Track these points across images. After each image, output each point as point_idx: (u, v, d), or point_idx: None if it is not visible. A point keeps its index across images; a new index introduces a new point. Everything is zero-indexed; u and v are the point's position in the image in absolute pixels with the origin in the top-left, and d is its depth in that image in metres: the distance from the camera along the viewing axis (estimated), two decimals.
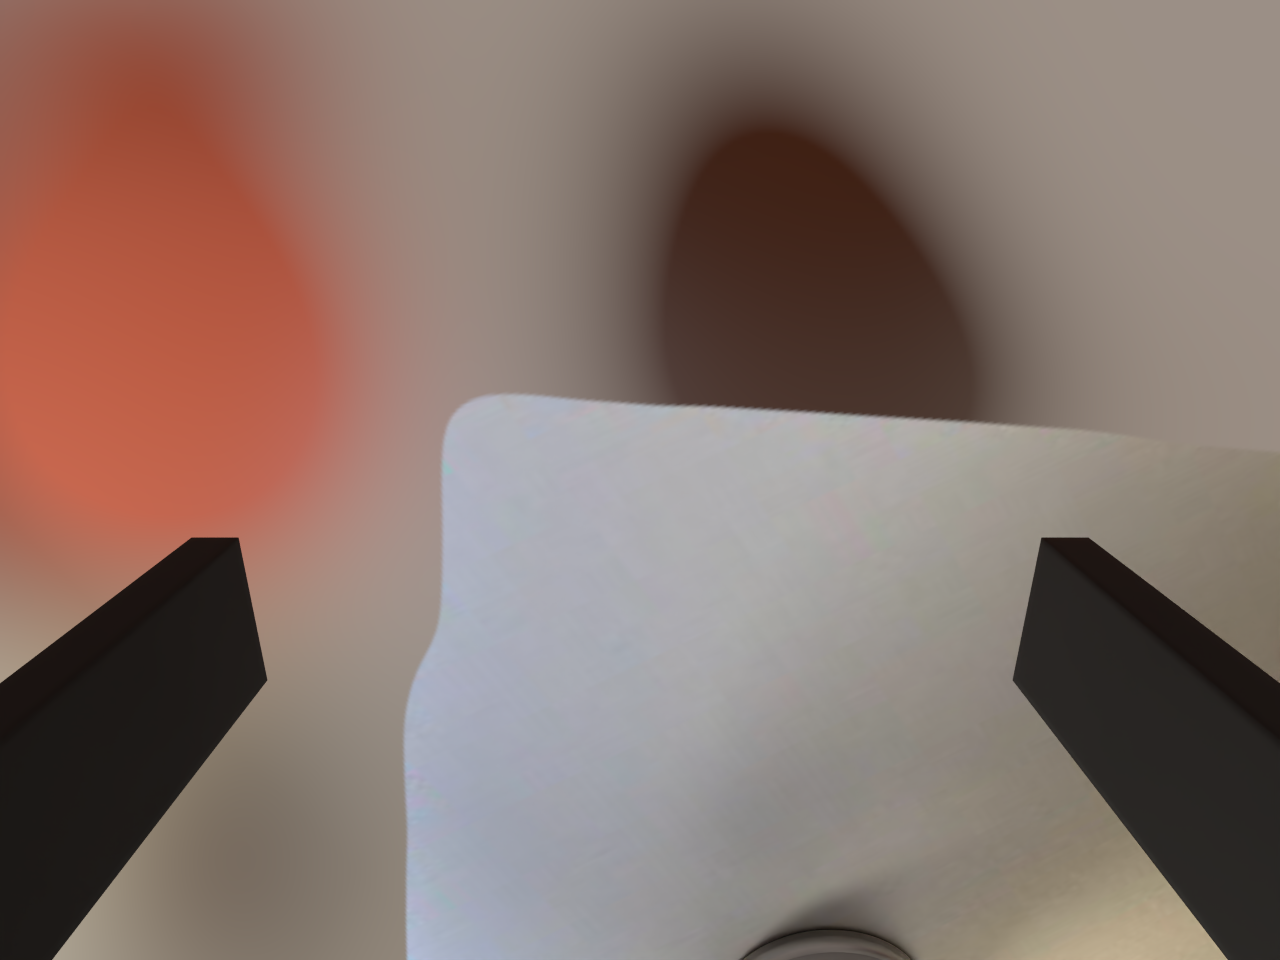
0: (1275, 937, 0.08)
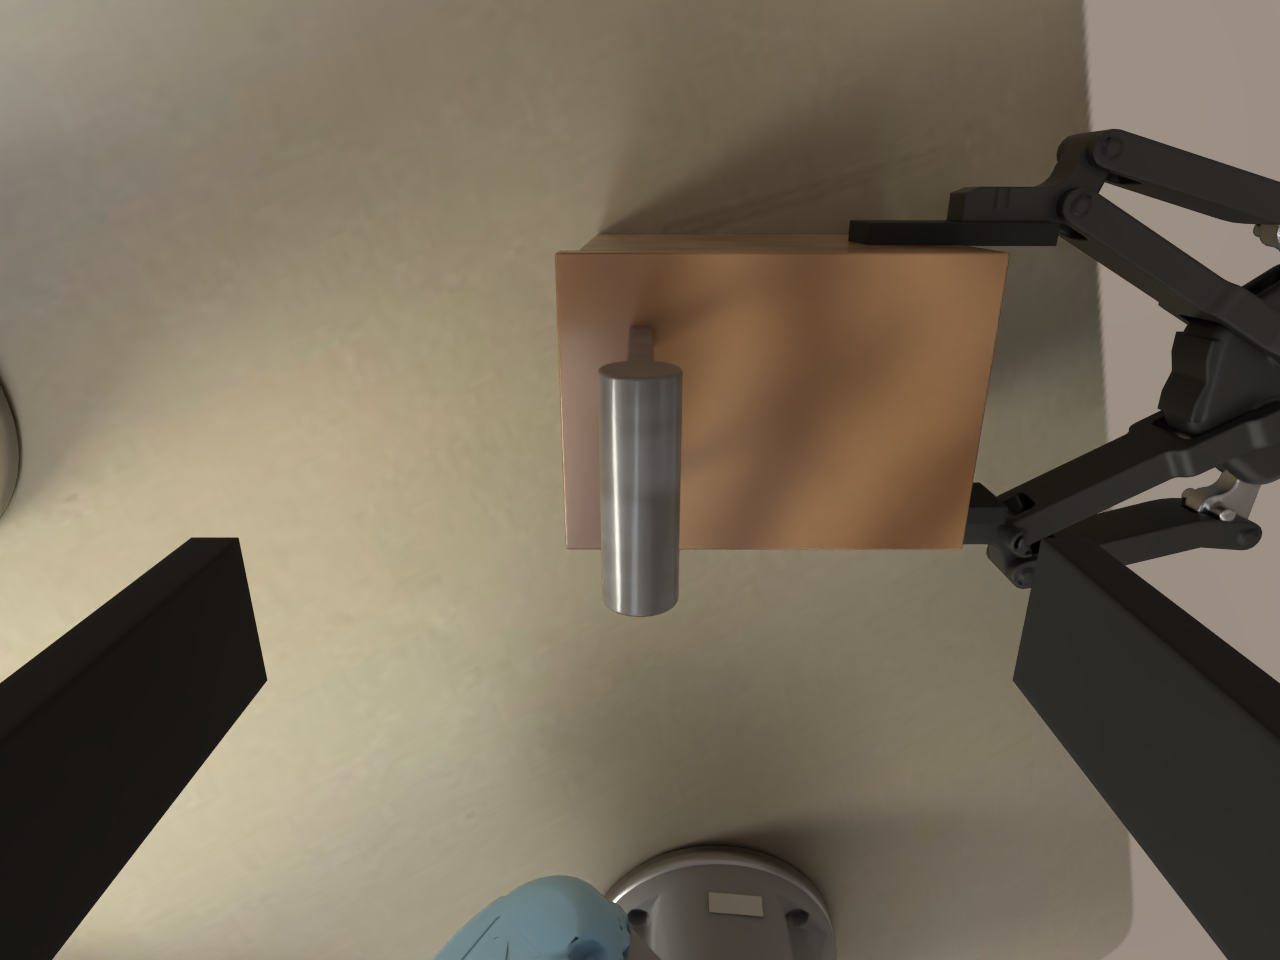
0: (1275, 937, 0.08)
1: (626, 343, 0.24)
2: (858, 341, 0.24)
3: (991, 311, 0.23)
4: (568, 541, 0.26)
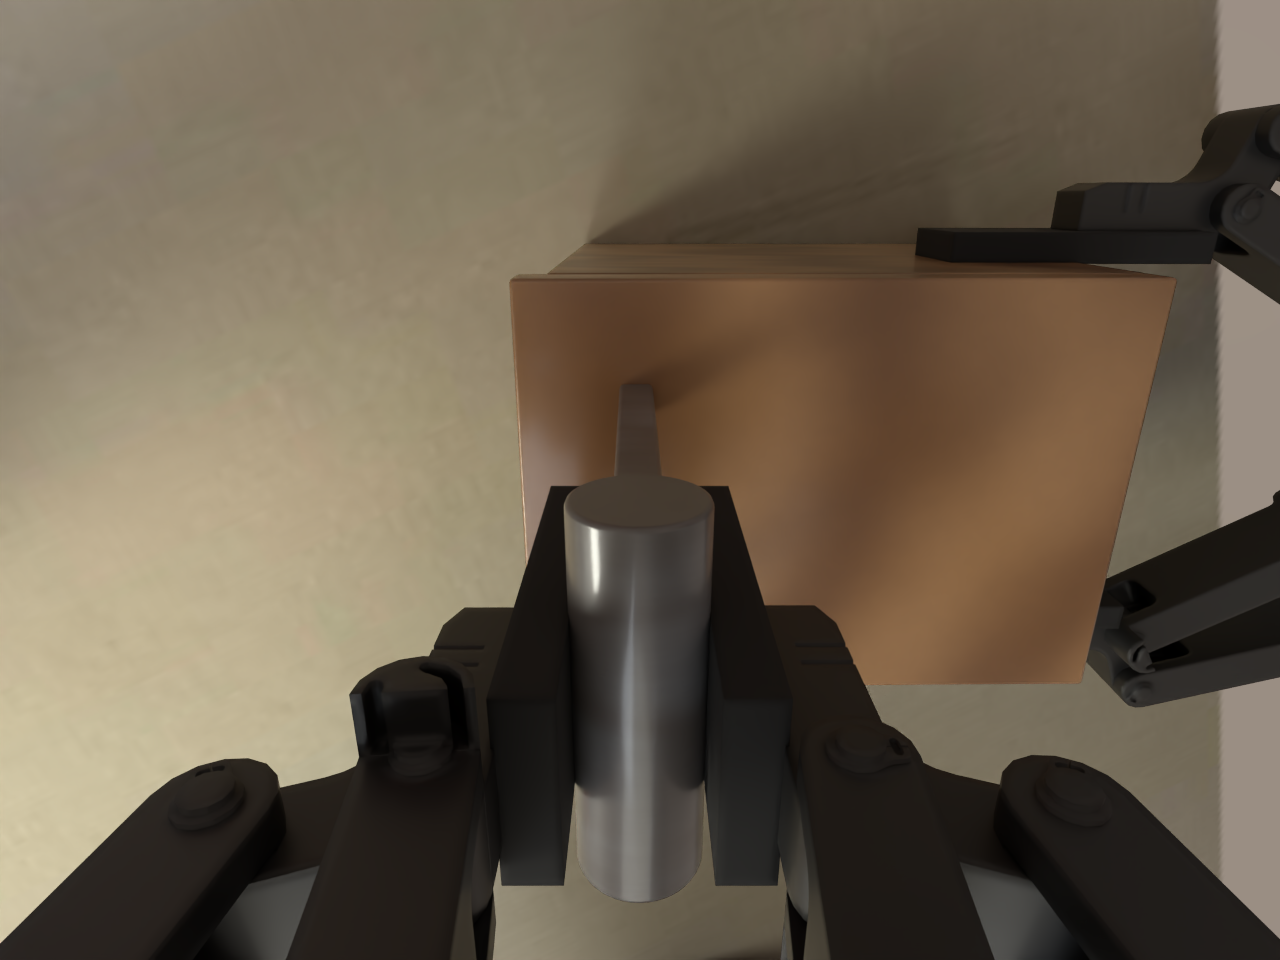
0: (710, 774, 0.10)
1: (615, 408, 0.16)
2: (950, 404, 0.16)
3: (1144, 362, 0.16)
4: None
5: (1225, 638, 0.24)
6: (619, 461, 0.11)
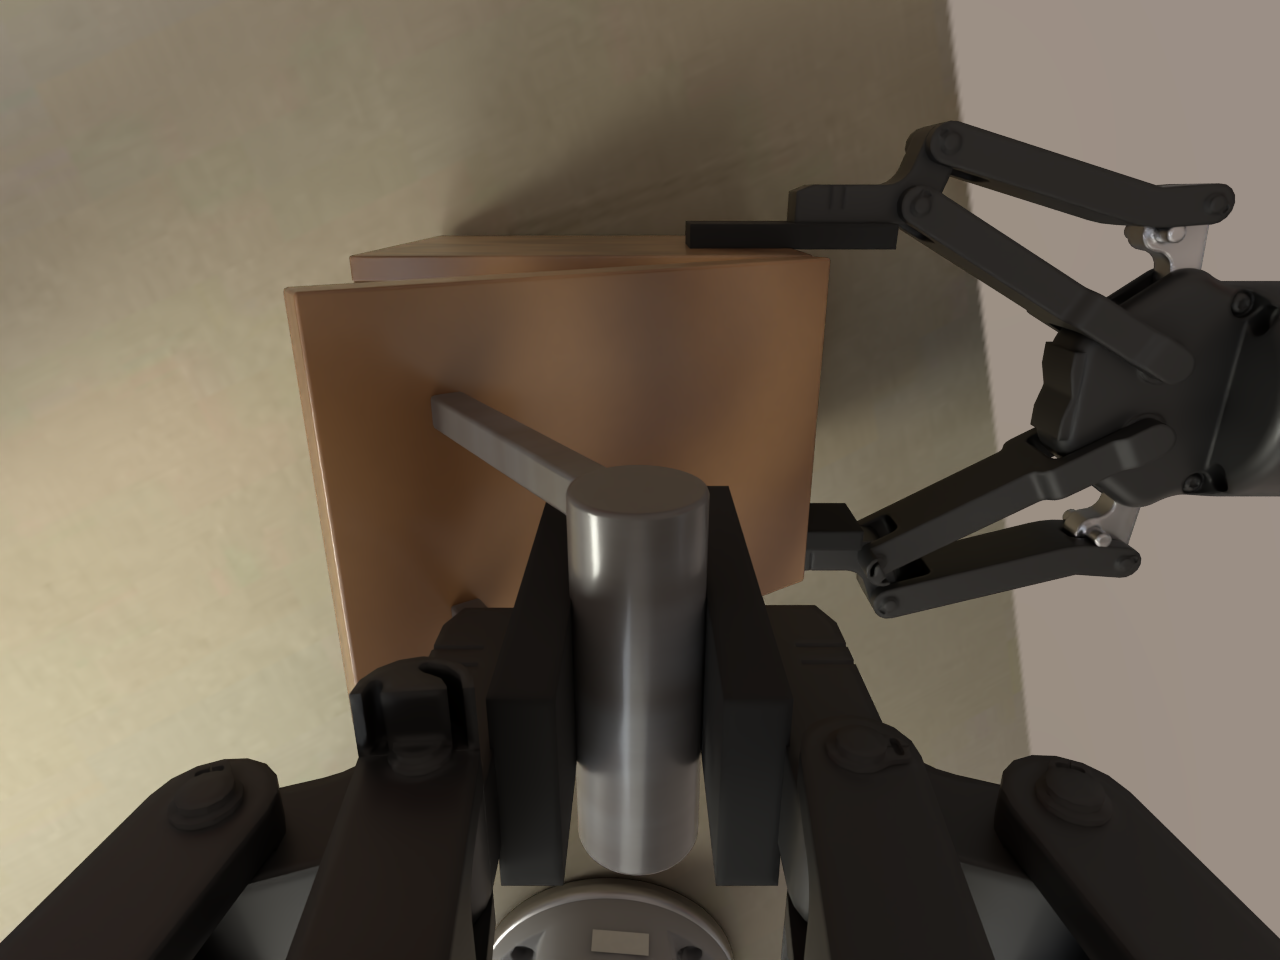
0: (710, 774, 0.10)
1: (426, 422, 0.15)
2: (704, 374, 0.19)
3: (818, 323, 0.21)
4: None
5: (960, 561, 0.29)
6: (552, 463, 0.11)
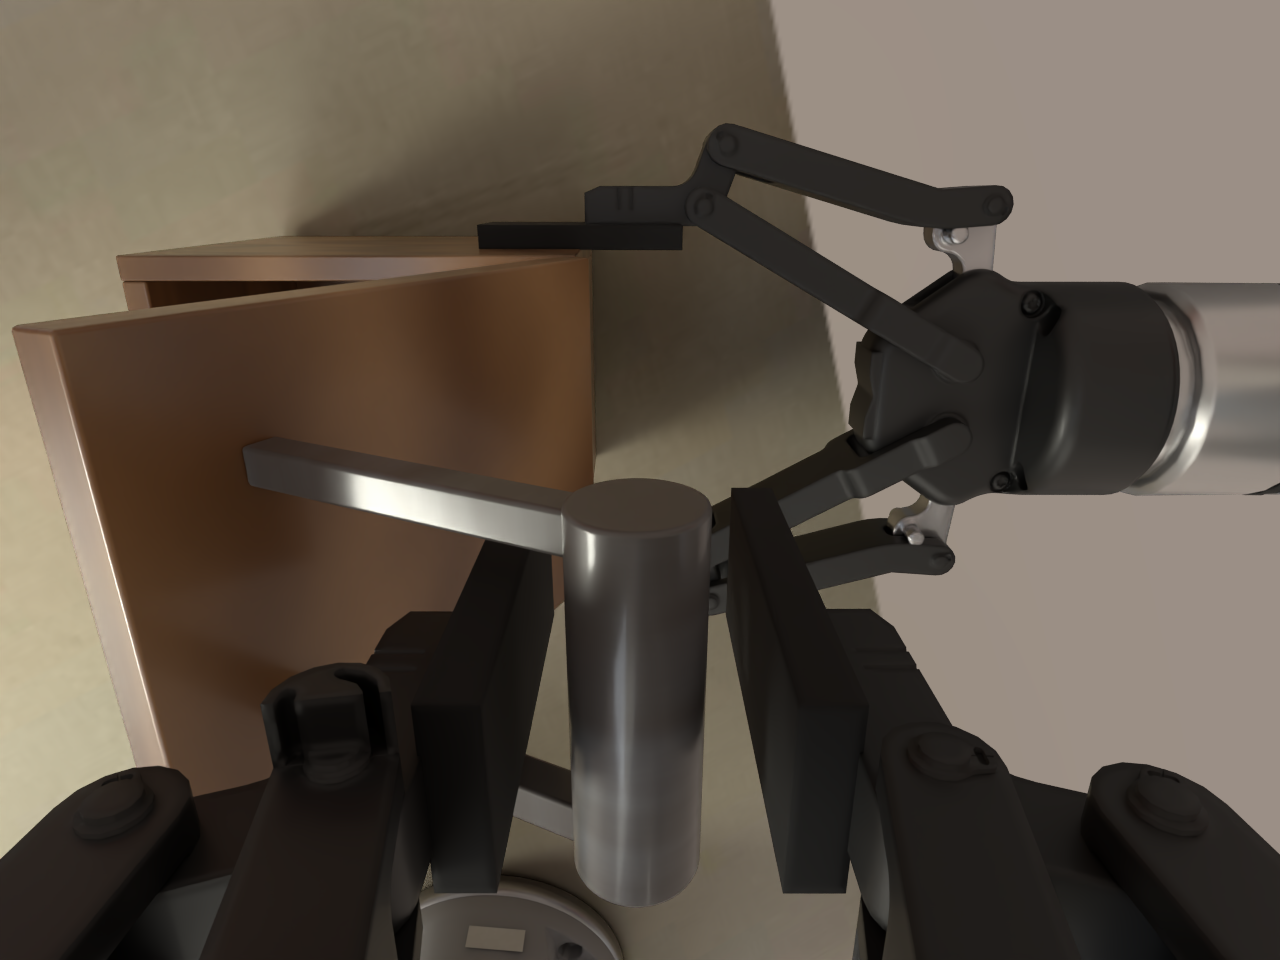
0: (773, 780, 0.10)
1: (240, 480, 0.12)
2: (503, 383, 0.18)
3: (585, 322, 0.21)
4: None
5: None
6: (502, 497, 0.10)
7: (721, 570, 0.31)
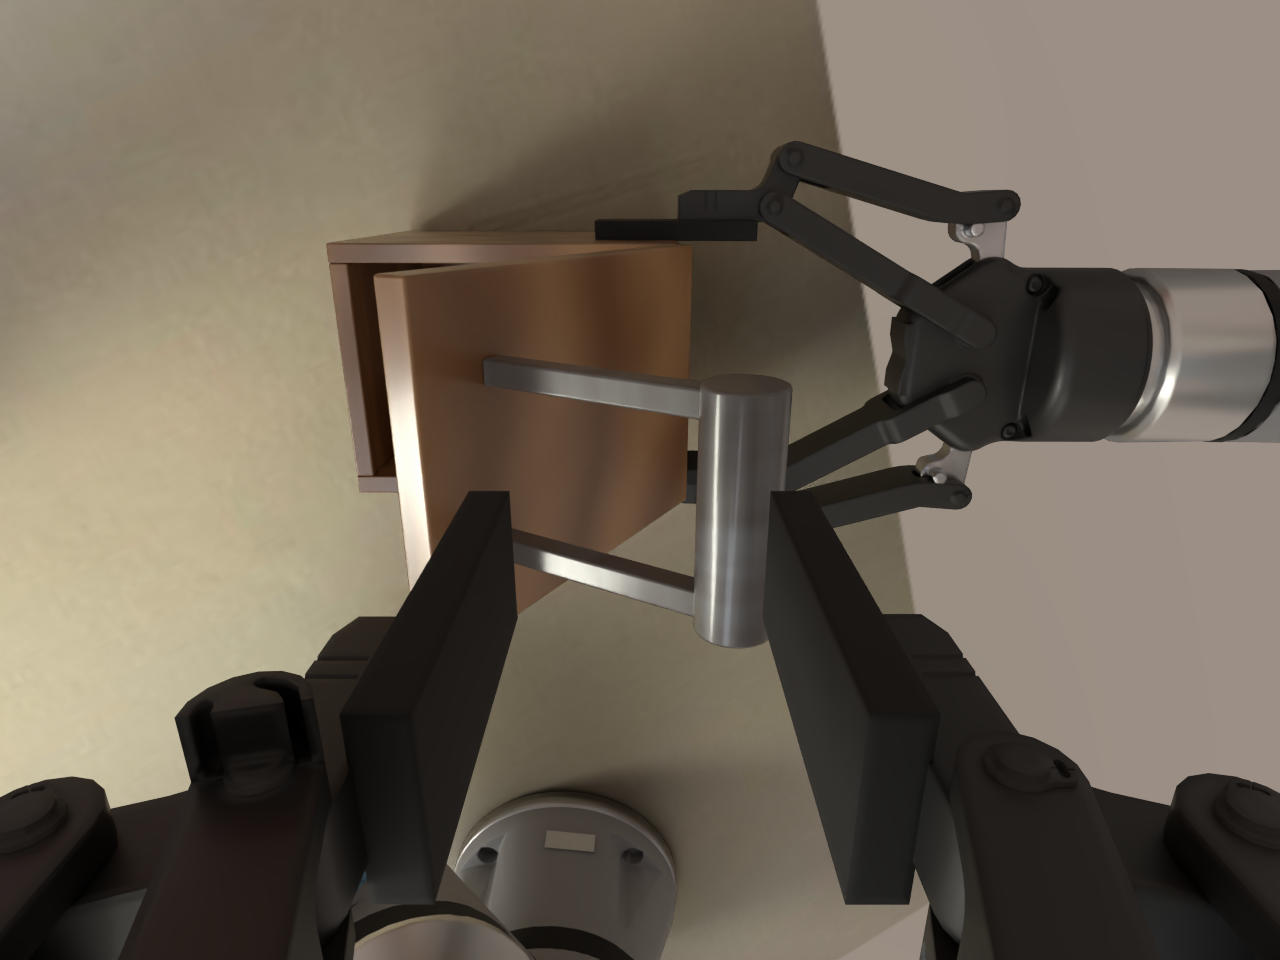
0: (831, 788, 0.10)
1: (480, 381, 0.19)
2: (630, 336, 0.25)
3: (688, 295, 0.28)
4: None
5: (828, 497, 0.35)
6: (660, 382, 0.16)
7: None
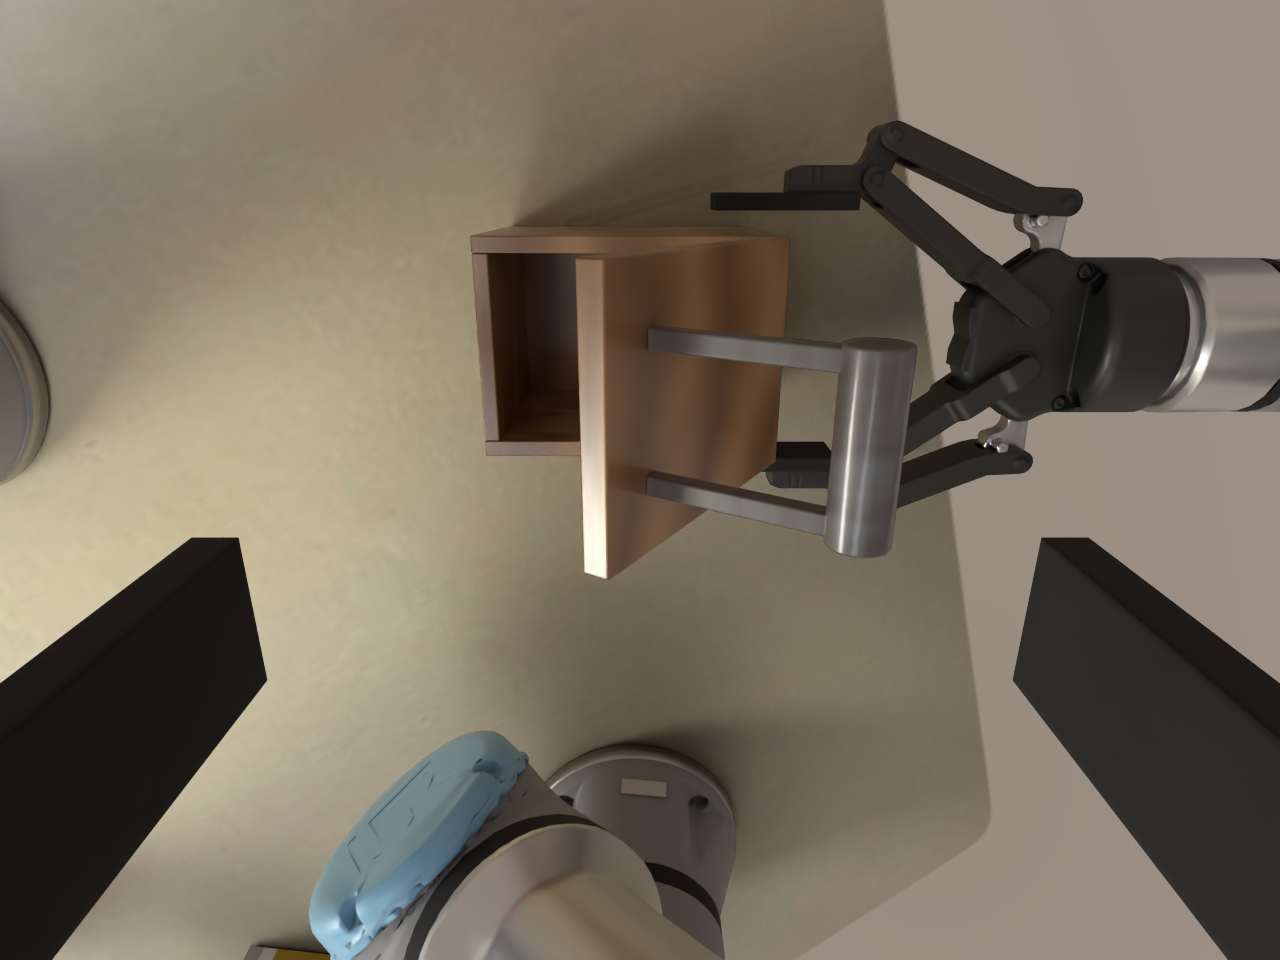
0: (1275, 937, 0.08)
1: (644, 346, 0.23)
2: (743, 315, 0.29)
3: (785, 281, 0.32)
4: (610, 571, 0.24)
5: (903, 476, 0.40)
6: (806, 343, 0.21)
7: None
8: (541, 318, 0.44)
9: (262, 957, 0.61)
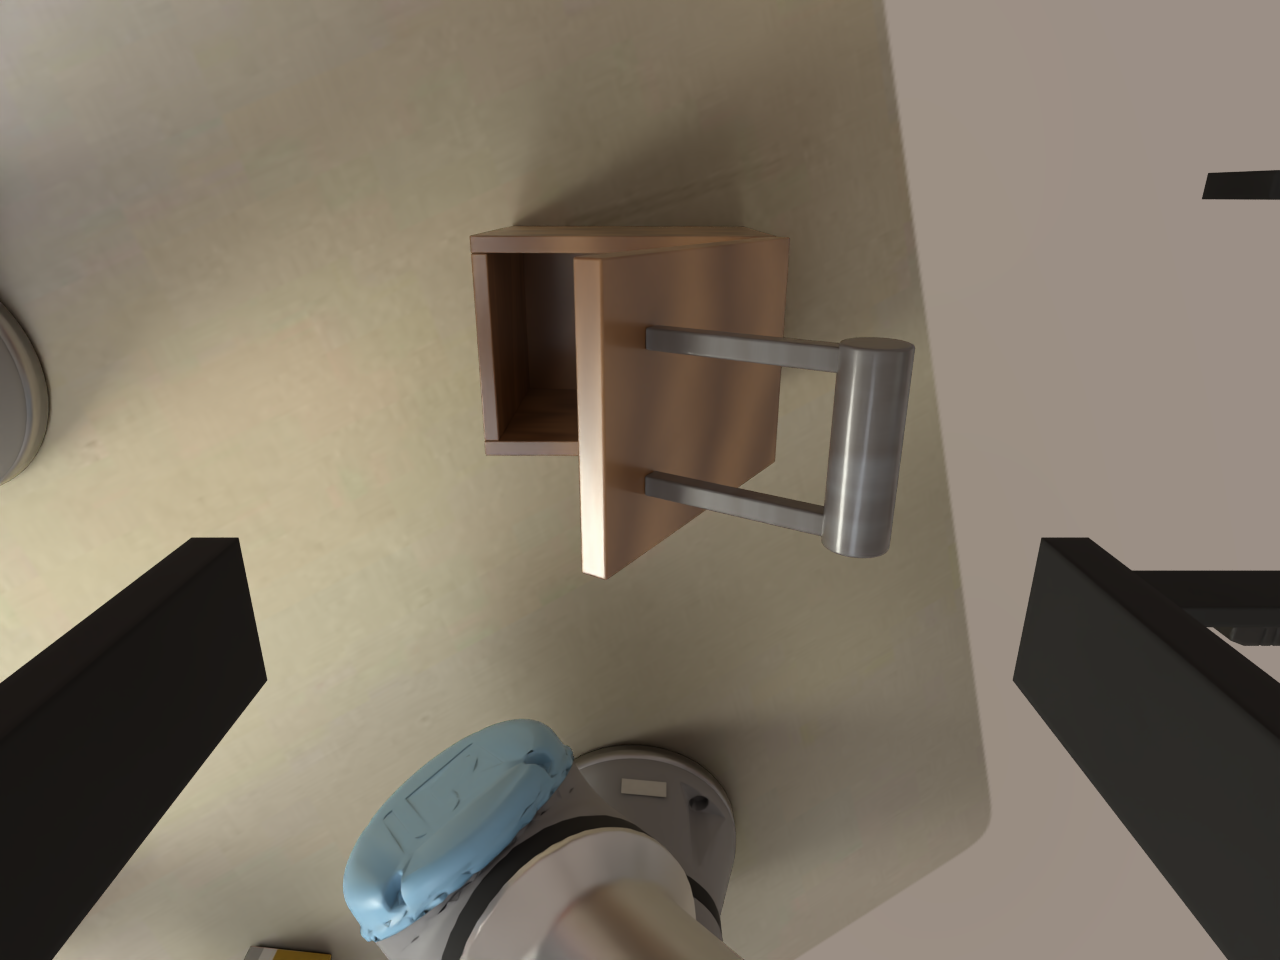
0: (1275, 937, 0.08)
1: (642, 345, 0.23)
2: (743, 314, 0.29)
3: (785, 280, 0.32)
4: (608, 571, 0.24)
5: None
6: (804, 343, 0.21)
7: None
8: (541, 317, 0.44)
9: (262, 957, 0.61)
